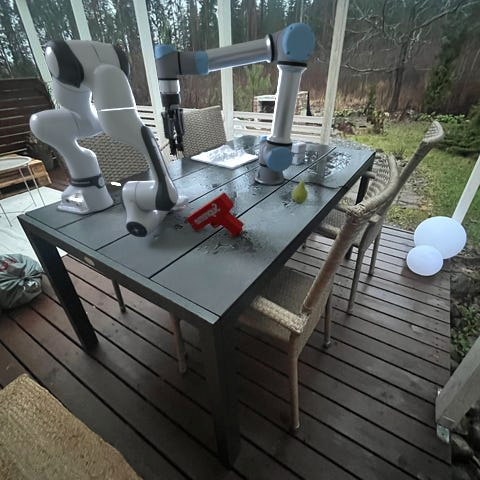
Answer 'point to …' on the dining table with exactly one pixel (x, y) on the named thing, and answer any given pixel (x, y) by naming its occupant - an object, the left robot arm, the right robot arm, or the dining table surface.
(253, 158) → the relief map
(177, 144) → the lid
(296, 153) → the ink box
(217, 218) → the toy gun
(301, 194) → the fruit
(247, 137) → the dining table surface
